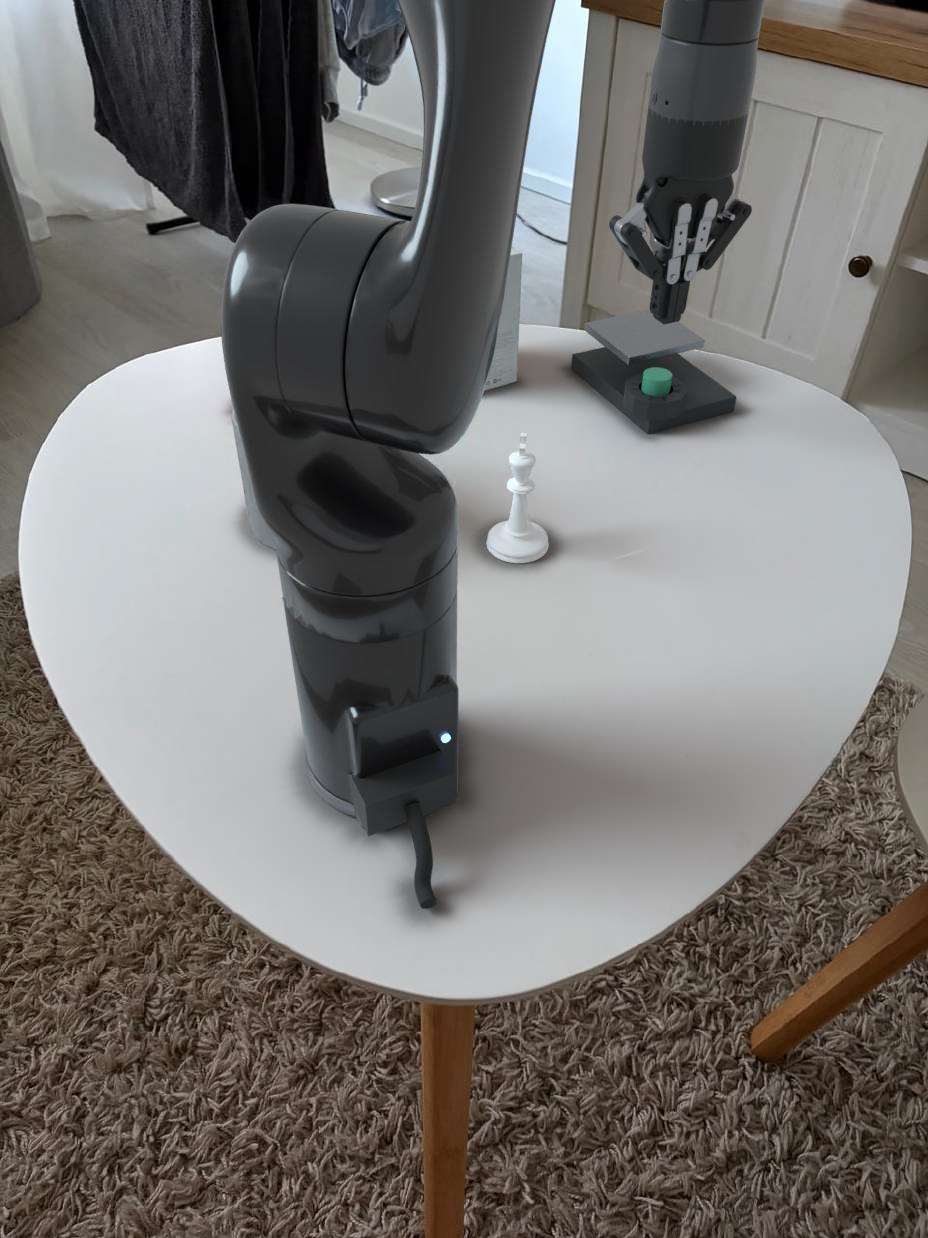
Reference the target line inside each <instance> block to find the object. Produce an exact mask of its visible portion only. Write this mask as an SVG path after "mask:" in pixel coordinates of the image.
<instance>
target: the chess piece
mask: <svg viewBox="0 0 928 1238" xmlns="http://www.w3.org/2000/svg"><path fill="white" fill-rule="evenodd" d="M527 435H528V433H527V432H521V433H520V436H519V438H520V440H519V449H518V450H515V451H513V452H512V453H510V455H509V456H508V463H509V466H510V468H511V472H512V476H513V477H511V478H509V479H508V481H507V482H506V488H507V490H508V491H509V492H511V493H512V494H513V497H512V502H511V508H510V512H509V518H508V519H507V520H503V521H500V522H498V523H496V524H494V525H493V526H492V527H491V528H490V529H489V531H488V533H487V538H486V548H487V550H488V551H489V553H490V554H491V555H492V556H493V557H495V558H496V559H498V560H501V561H503V562H507V563H512V564H527V563H532V562H535V561H537V560H540V559H541V558H542V557H544V556H545V555H546V553H547V552H548V551H549V550H548V549H549V546H550V544H549V536H548V533H547V532H546V530H545V528H543V527H542V526H541V525H539V524H537V523H536V522H534V521H531V520H530V519H529V508H528V494H530V493H532V492H534V490H535V489H536V484H535V481H534V480H533V479H532V478H530V476H531V473H532V470H533V468H534V467H535V465H536V462H537V457H536V456H535V455H534V453H532V452H531V451H527V440H528V439H527V438H528V436H527Z"/></svg>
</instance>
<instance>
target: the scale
mask: <svg viewBox="0 0 928 1238" xmlns="http://www.w3.org/2000/svg"><path fill="white" fill-rule="evenodd" d="M570 366H571V367H570V369H571V371H573V372H574V373H575V374H576V375H577V376H578V377H580V378H581V379H582V380H583V381H584V382H586V383H587V384H588V385H589V386H590V387H591V388H593V389H594V390H595V391H596V392H597V393H598V394H599V395H600V396H602V397H603V398H604V399H605V400H607V402H609V403H610V404H611V405H612V406H614V407H615V408H616V409H617V410H618V411H620V412H621V414H623V415H624V416H625V417H626V418H627V419H629V420H630V421H631V422H632V423H633V424H635V425H636V426H637V427H638V428H639V429H640V430H641V431H643V432H644V433H645V434H646V435H651V434H656V433H659V432H663V431H665V430H670V429H675V428H678V427H682V426H686V425H689V424H693V423H697V422H701V421H704V420H708V419H711V418H715V417H719V416H723V415H728V414H732V413H735V407H736V403H737V398H738V397H737V396H736V395H735V394H734V393H732V392H731V391H730V390H728V389H727V388H725V386H723V385H722V384H720V383H719V382H717V380H715V379H714V378H712V377H710V376H709V375H708V374H706V373H705V372H704V371H702V370H701V369H700V368H699V367H697V366H695V365H694V364H693V363H691V362H690V361H689V360H687V359H686V358H685V357H684V356H682V355H681V354H680V353H677V354H673V355H669V356H664V357H660V358H656V359H652V360H647V361H643V362H639V363H635V364H630V365H628V364H626V363H625V362H624V361H623V360H621V359H620V358H619V357H617V356H616V355H615V354H614V353H612V352H611V351H610V350H609V349H607V348H606V347H605V346H603V347H598V348H594V349H589V350H585V351H581V352H576V353H573V354H571V365H570ZM653 367H659V368H664V369H667V370H669V371H670V372H671V373H672V382H671V388H670V393H669V395H665V396H651V395H648V394H645V393H643V392H642V391H641V388H642V381H643V373H644V371H645V370H646V369H648V368H653Z"/></svg>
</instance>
